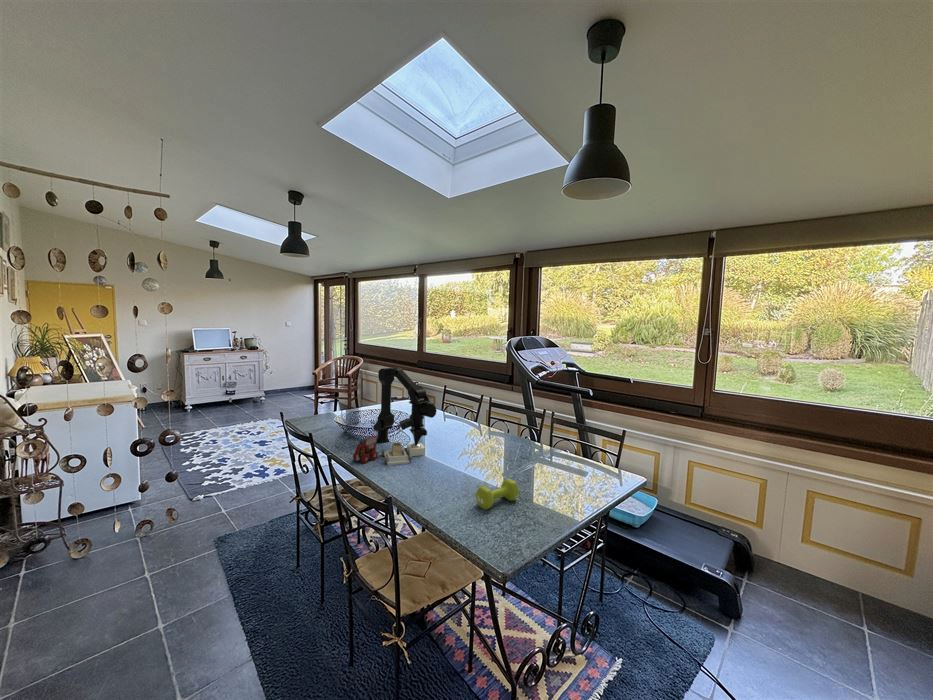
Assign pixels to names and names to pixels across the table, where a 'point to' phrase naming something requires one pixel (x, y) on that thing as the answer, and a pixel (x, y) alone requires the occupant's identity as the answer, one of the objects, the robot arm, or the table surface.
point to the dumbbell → (496, 493)
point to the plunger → (415, 445)
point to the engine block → (397, 449)
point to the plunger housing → (416, 450)
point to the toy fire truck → (366, 450)
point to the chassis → (396, 458)
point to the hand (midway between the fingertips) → (415, 444)
